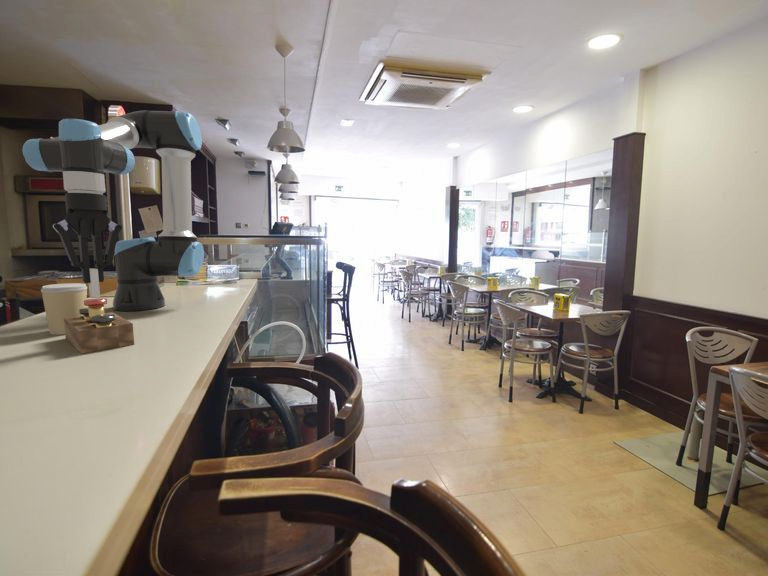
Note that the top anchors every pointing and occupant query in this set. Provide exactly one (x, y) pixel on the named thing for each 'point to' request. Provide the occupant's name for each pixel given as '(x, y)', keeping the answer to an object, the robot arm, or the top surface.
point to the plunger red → (95, 306)
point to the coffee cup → (63, 304)
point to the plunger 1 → (84, 312)
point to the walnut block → (98, 334)
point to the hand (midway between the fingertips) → (94, 296)
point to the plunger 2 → (103, 320)
